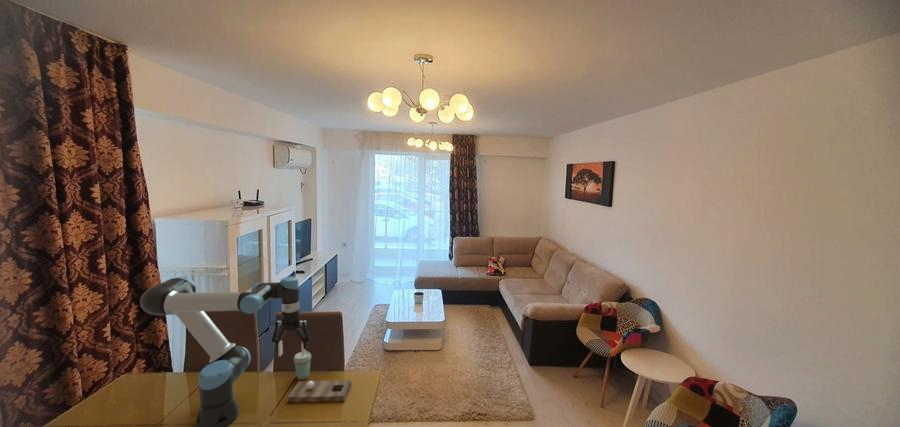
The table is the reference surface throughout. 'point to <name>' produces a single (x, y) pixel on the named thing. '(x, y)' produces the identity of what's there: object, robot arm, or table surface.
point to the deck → (320, 391)
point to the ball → (310, 385)
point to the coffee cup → (302, 365)
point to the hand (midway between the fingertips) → (292, 355)
